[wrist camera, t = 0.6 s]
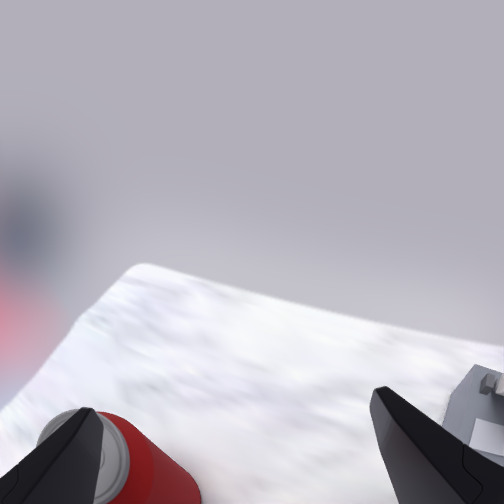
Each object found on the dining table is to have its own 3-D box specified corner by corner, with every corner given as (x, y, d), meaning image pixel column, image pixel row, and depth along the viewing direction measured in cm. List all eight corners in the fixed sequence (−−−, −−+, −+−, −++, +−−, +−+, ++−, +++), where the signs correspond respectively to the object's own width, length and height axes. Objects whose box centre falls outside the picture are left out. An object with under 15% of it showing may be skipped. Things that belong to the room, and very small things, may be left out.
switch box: (504, 489, 12) (548, 466, 8) (425, 470, 16) (460, 447, 13) (520, 415, 17) (556, 380, 13) (451, 393, 21) (480, 355, 18)
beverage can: (117, 467, 19) (29, 401, 12) (192, 456, 20) (133, 388, 13) (130, 537, 13) (26, 513, 6) (214, 529, 15) (153, 520, 8)
